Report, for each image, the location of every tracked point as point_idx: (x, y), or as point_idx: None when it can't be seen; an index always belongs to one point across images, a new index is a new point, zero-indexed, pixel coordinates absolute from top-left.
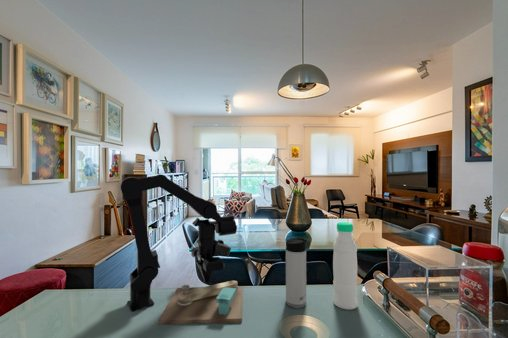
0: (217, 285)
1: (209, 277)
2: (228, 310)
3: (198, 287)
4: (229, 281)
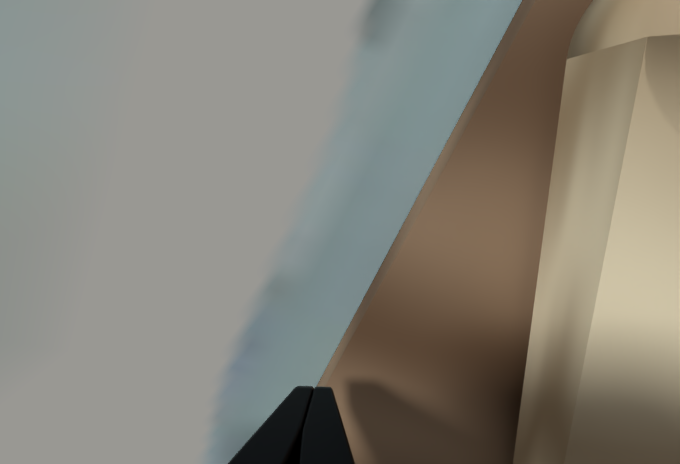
0: (647, 377)
1: (351, 455)
2: None
3: None
4: (654, 96)
